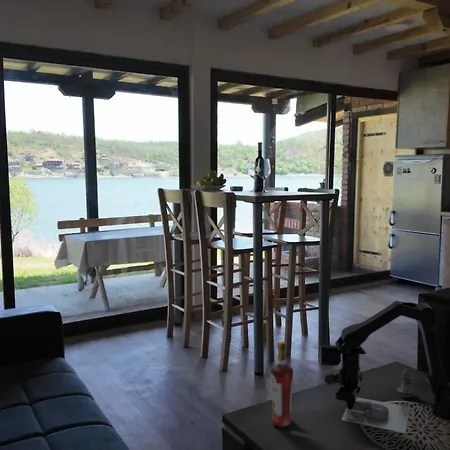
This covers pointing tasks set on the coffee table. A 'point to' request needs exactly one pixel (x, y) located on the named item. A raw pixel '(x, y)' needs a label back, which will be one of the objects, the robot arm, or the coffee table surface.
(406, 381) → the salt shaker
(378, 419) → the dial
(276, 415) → the liquor
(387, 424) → the panel
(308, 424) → the coffee table surface
